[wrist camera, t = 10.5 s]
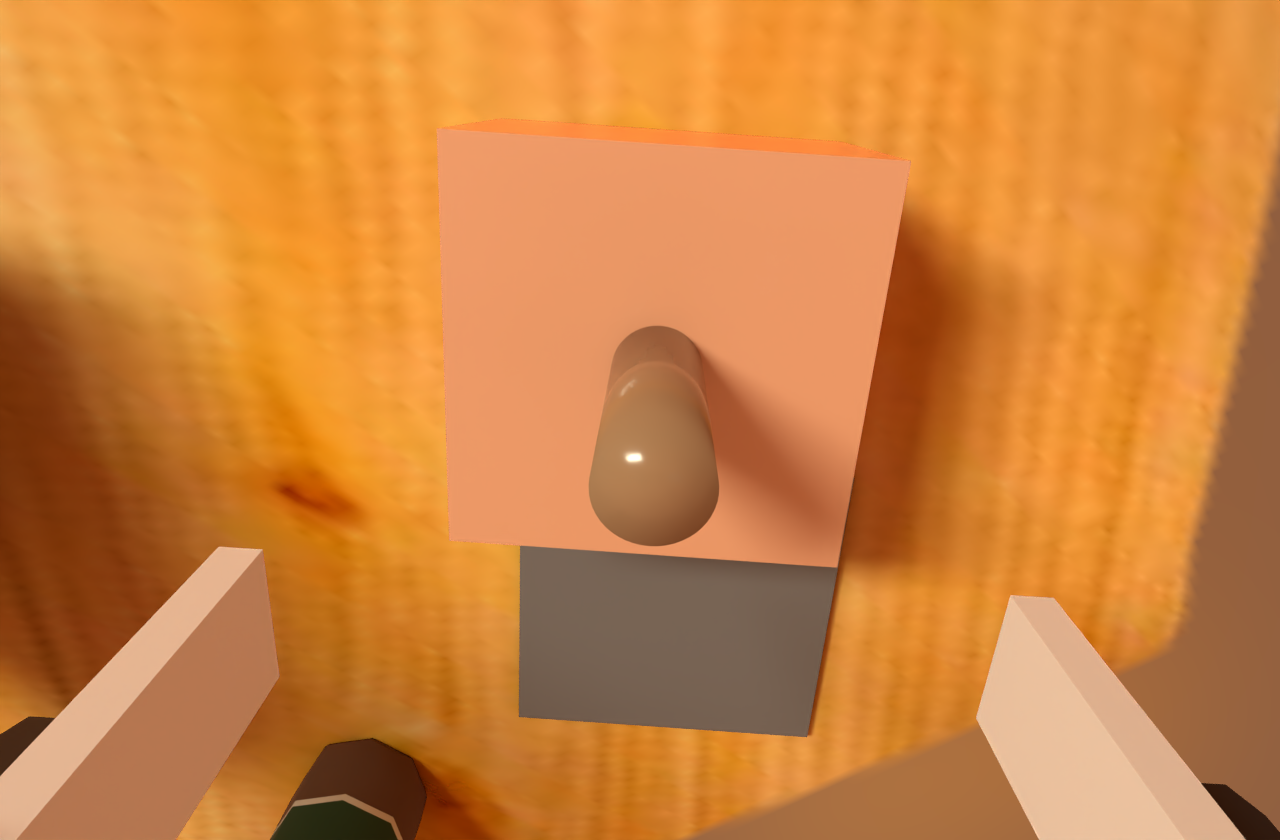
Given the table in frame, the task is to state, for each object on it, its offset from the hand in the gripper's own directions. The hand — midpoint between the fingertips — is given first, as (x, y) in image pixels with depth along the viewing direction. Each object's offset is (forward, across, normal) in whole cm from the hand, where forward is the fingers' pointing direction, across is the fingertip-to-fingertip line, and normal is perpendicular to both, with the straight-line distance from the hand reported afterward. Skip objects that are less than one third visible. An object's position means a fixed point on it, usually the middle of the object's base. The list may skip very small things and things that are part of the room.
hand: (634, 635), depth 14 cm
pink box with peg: (+26, +1, 0) cm, 26 cm away
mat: (+26, +3, -17) cm, 31 cm away
